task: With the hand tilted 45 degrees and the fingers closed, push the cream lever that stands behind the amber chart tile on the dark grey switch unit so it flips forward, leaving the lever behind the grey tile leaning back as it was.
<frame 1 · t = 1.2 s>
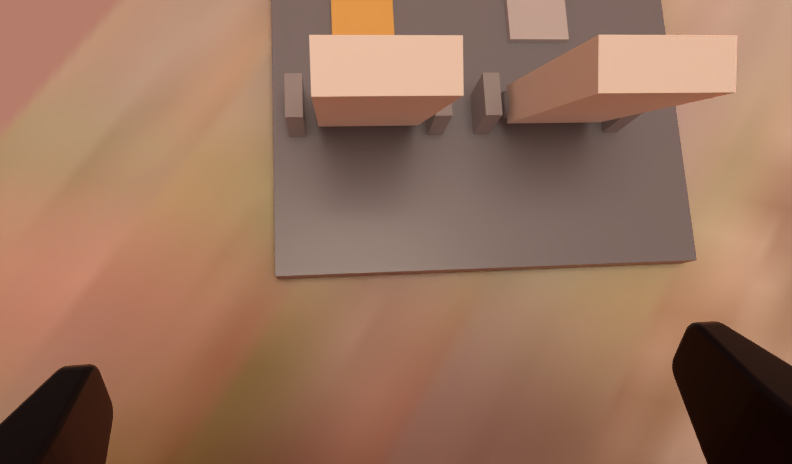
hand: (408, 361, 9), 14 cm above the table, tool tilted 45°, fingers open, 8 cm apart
marked lever: (375, 92, 18), point 6 cm above the table, hinge at -15.0°
switch unit: (451, 123, 24), on the table
unmarked lever: (594, 89, 19), point 6 cm above the table, hinge at -15.0°
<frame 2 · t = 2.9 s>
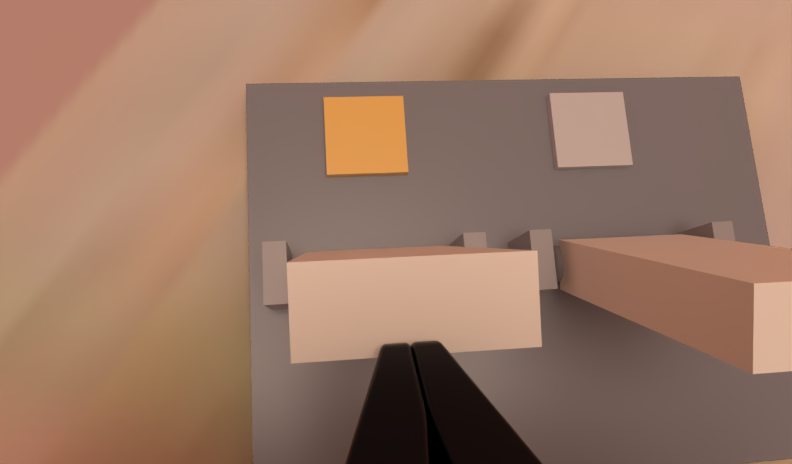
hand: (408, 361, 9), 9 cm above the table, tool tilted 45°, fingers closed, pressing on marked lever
marked lever: (388, 284, 13), point 6 cm above the table, hinge at -9.9°, touching gripper
switch unit: (482, 274, 19), on the table
unmarked lever: (696, 280, 13), point 6 cm above the table, hinge at -15.0°
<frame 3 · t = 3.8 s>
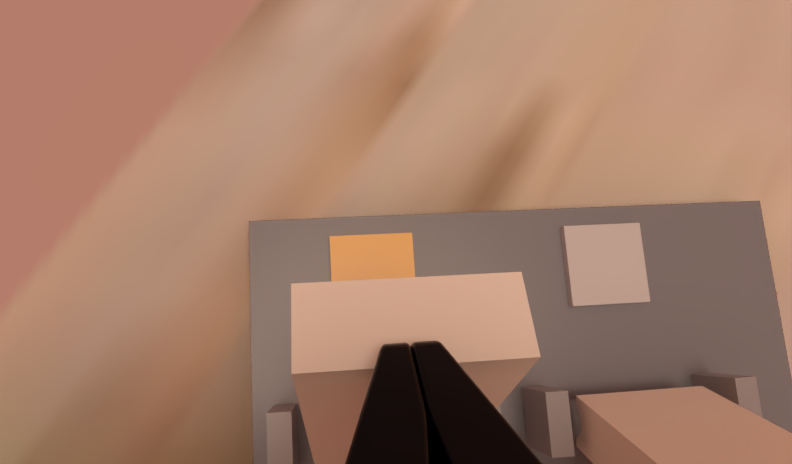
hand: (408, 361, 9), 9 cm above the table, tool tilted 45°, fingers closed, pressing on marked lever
marked lever: (394, 396, 12), point 5 cm above the table, hinge at 20.1°, touching gripper
switch unit: (494, 413, 18), on the table
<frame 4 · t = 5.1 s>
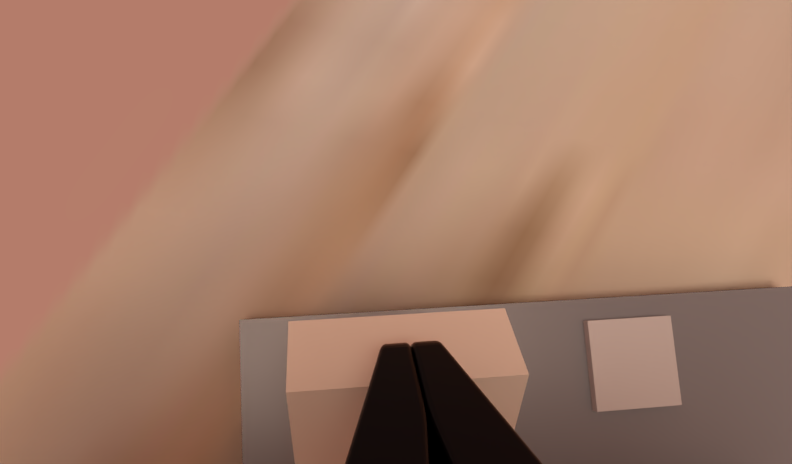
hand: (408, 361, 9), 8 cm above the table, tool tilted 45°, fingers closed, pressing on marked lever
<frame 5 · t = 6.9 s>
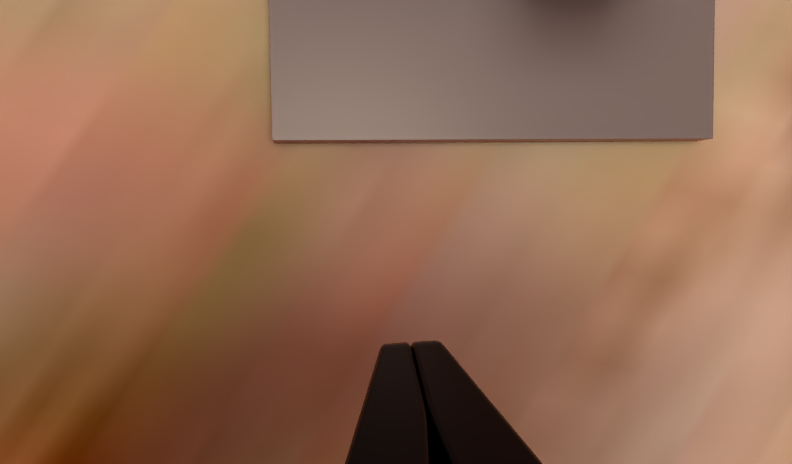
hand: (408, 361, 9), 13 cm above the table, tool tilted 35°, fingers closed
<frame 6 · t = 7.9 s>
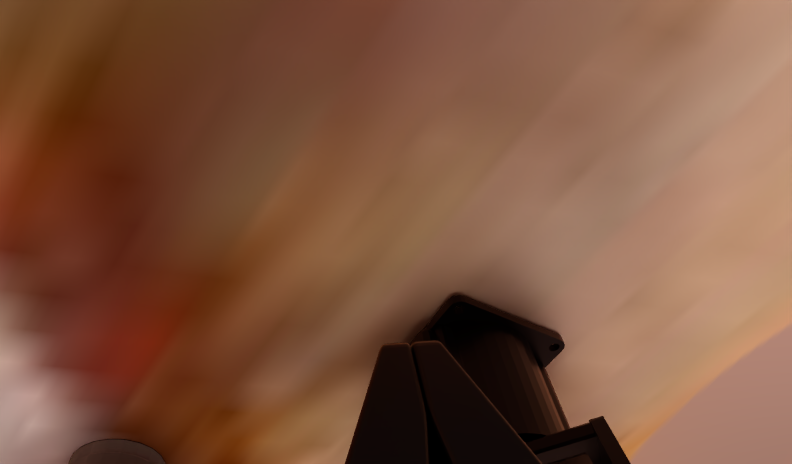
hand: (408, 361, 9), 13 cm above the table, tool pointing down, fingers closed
beverage cup: (119, 463, 30), on the table
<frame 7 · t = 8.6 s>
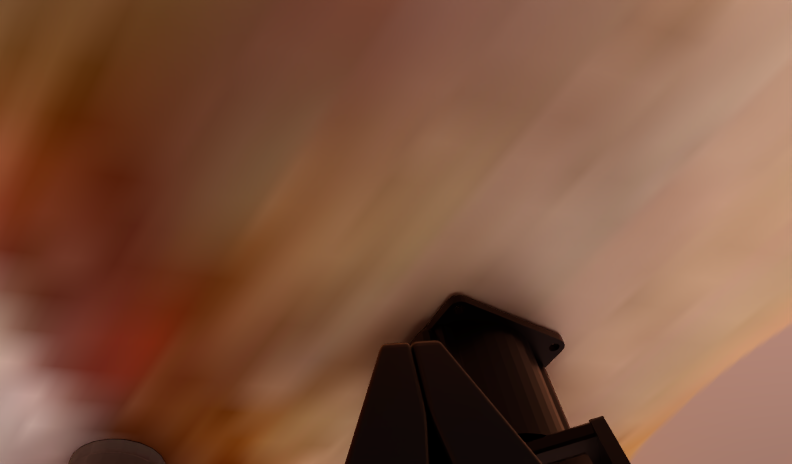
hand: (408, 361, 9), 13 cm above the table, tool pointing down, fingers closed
beverage cup: (119, 463, 30), on the table
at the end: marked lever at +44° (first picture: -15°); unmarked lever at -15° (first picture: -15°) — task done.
